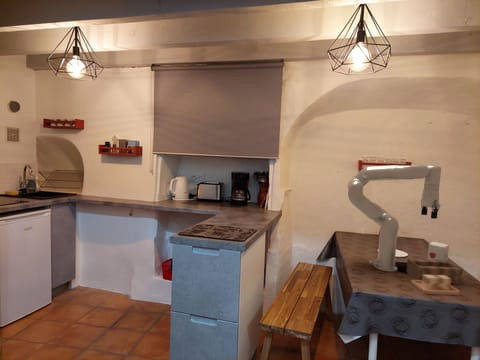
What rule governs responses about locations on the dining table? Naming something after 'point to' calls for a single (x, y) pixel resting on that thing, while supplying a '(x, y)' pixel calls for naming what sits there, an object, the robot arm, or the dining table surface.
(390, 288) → the dining table surface
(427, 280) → the maple block
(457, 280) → the walnut pocket jig
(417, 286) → the terracotta tray
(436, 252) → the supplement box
